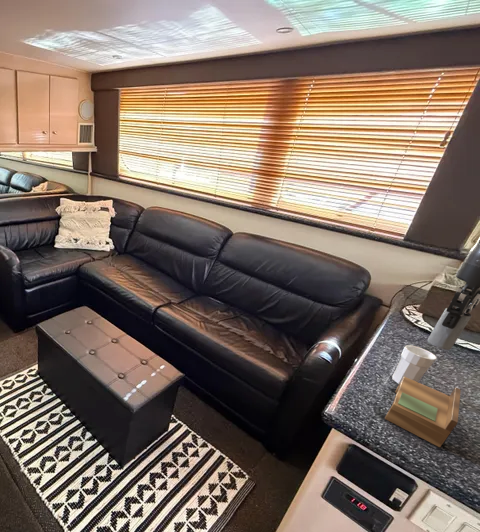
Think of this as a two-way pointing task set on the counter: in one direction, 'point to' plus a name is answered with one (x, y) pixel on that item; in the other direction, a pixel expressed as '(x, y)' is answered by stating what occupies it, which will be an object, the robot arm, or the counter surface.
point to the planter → (447, 332)
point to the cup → (413, 363)
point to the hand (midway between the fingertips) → (451, 324)
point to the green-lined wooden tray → (424, 411)
